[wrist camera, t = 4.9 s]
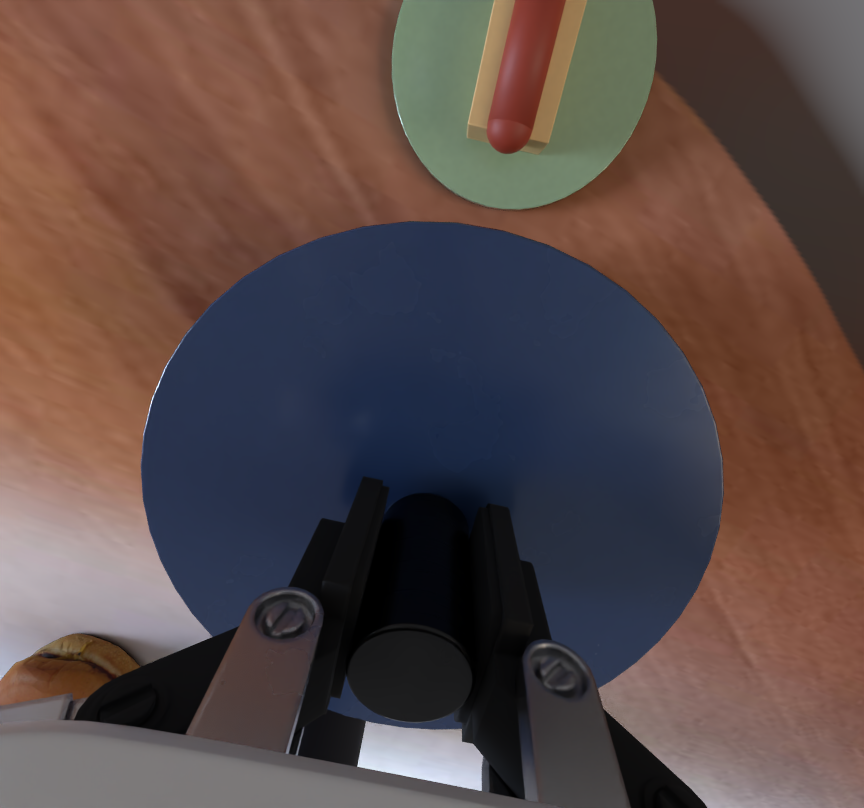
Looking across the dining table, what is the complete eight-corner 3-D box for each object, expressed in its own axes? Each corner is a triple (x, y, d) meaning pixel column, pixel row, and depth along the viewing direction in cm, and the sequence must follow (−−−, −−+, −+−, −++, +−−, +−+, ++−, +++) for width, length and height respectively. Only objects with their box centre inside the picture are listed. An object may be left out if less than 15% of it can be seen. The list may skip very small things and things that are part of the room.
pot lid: (75, 283, 12) (-240, 314, 6) (711, 164, 10) (998, 75, 5) (254, 714, 17) (162, 932, 11) (695, 679, 15) (825, 911, 10)
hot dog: (506, -52, 19) (516, -110, 16) (588, -32, 19) (613, -85, 16) (462, 154, 22) (463, 137, 19) (534, 171, 22) (547, 157, 19)
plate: (370, -55, 20) (367, -66, 19) (648, -125, 19) (655, -139, 18) (417, 230, 24) (416, 229, 23) (653, 186, 22) (659, 184, 22)
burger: (135, 629, 33) (85, 687, 29) (165, 720, 36) (124, 784, 32) (11, 629, 34) (-55, 685, 30) (51, 717, 37) (-4, 780, 33)
